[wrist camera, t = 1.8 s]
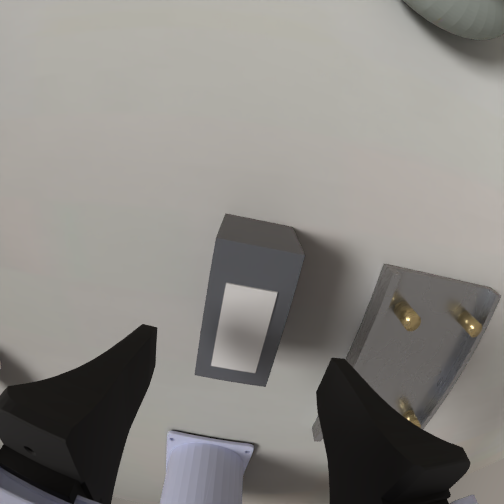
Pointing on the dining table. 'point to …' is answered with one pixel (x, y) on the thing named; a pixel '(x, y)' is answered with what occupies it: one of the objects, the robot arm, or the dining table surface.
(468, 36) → the air freshener
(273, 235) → the block
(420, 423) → the tray
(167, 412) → the dining table surface
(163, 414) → the dining table surface
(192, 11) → the dining table surface
